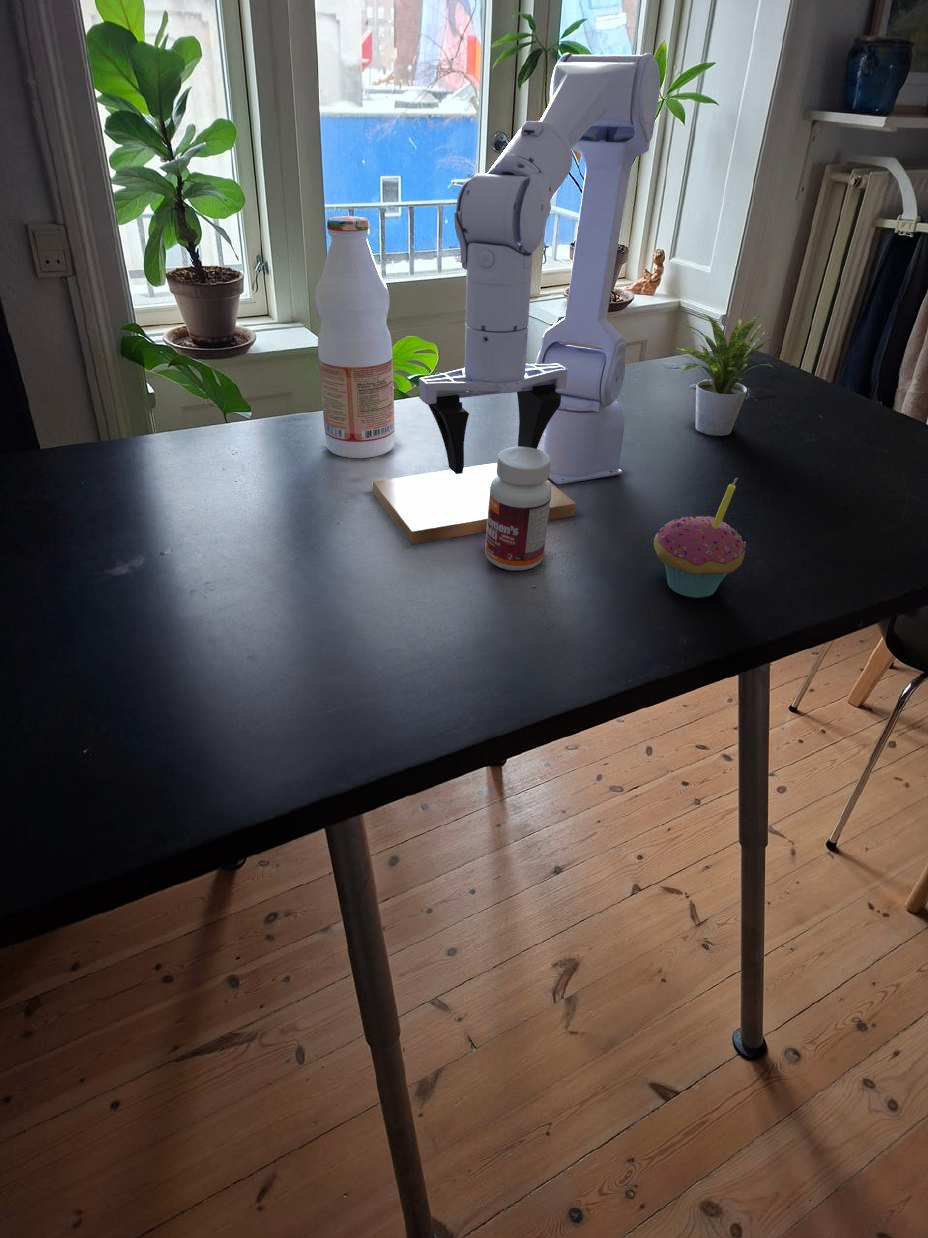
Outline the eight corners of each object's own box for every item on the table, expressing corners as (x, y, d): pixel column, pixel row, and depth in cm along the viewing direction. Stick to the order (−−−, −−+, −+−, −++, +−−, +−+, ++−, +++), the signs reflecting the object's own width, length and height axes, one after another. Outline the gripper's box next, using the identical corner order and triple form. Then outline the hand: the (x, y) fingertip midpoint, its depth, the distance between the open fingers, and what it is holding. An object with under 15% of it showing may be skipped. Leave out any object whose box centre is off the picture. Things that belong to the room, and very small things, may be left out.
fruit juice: (316, 456, 106) (295, 221, 91) (338, 431, 114) (322, 211, 98) (385, 462, 105) (375, 225, 89) (402, 437, 112) (397, 214, 97)
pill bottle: (472, 557, 84) (478, 456, 77) (508, 535, 88) (517, 438, 81) (519, 579, 81) (530, 477, 74) (555, 556, 85) (568, 457, 78)
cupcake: (737, 573, 82) (764, 463, 76) (732, 616, 76) (760, 500, 69) (653, 559, 85) (671, 451, 78) (641, 599, 78) (660, 484, 71)
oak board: (521, 470, 104) (522, 458, 103) (575, 515, 93) (576, 503, 92) (372, 493, 97) (372, 481, 96) (412, 545, 86) (411, 531, 85)
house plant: (687, 403, 127) (706, 294, 118) (775, 422, 120) (802, 308, 111) (649, 428, 117) (666, 311, 108) (741, 451, 110) (768, 328, 101)
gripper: (438, 342, 68) (437, 490, 75) (588, 328, 72) (574, 470, 80) (410, 322, 73) (412, 463, 80) (552, 311, 78) (541, 445, 85)
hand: (491, 465), depth 81 cm, fingers open, 7 cm apart
